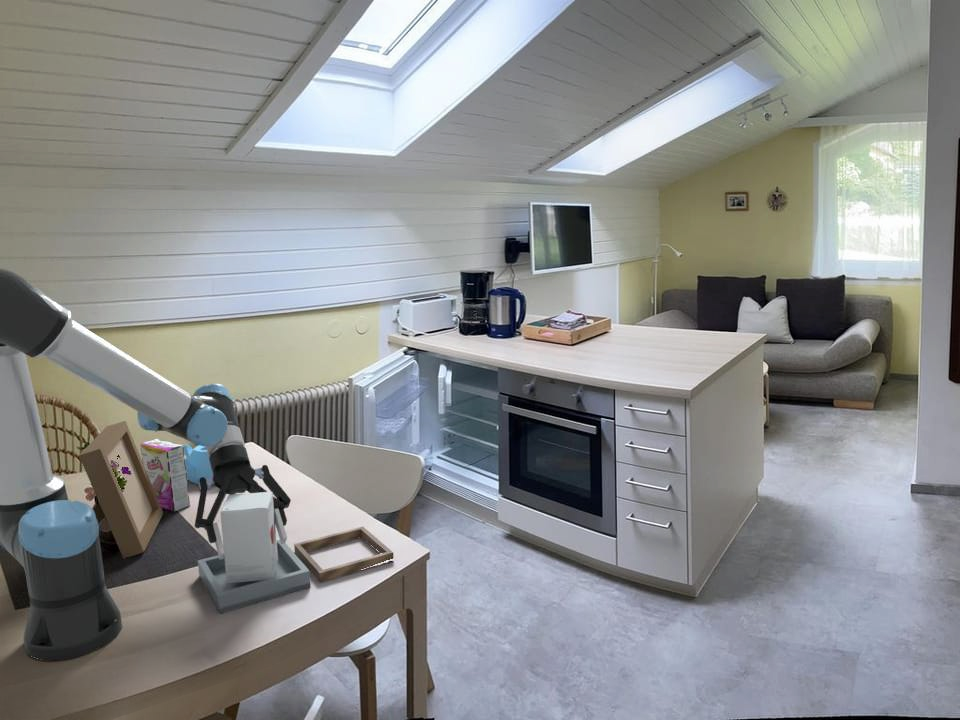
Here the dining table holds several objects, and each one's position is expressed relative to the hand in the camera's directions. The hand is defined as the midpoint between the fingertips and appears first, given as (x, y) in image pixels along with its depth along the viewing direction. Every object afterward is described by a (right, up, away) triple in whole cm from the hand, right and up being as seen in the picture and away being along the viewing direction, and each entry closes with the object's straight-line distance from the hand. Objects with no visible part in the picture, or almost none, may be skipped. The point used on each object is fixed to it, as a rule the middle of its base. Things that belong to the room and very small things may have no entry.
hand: (253, 548), depth 147 cm
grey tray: (-1, -8, +4) cm, 9 cm away
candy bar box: (-35, 0, +45) cm, 57 cm away
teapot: (-31, +4, +64) cm, 72 cm away
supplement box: (-1, -5, +3) cm, 6 cm away
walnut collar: (+15, -5, +14) cm, 21 cm away
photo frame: (-38, -4, +26) cm, 46 cm away
